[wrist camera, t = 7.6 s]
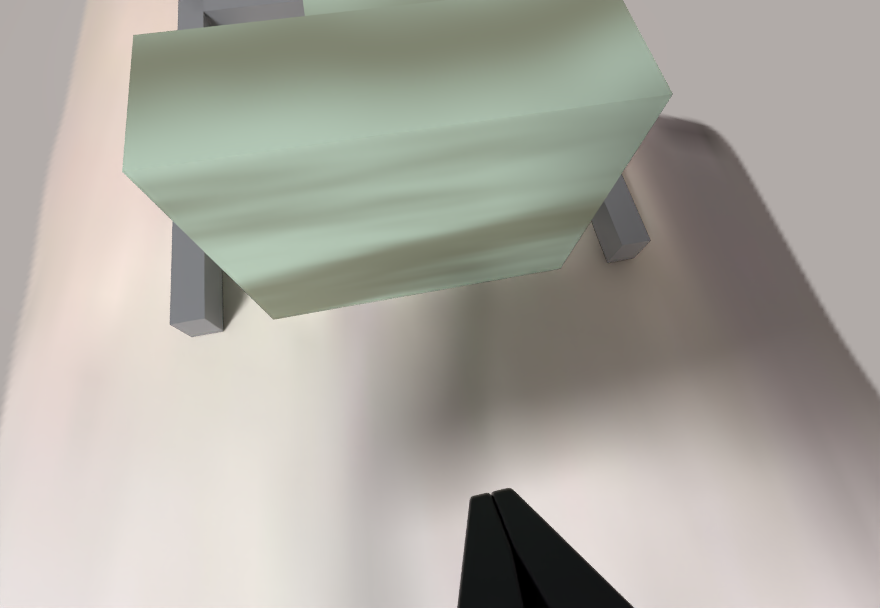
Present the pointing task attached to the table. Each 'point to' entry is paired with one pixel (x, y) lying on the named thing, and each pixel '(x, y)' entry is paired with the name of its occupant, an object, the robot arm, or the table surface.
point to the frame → (201, 277)
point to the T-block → (389, 141)
